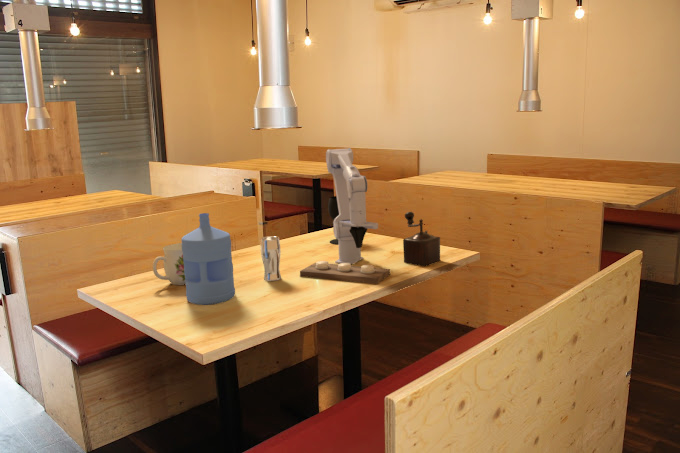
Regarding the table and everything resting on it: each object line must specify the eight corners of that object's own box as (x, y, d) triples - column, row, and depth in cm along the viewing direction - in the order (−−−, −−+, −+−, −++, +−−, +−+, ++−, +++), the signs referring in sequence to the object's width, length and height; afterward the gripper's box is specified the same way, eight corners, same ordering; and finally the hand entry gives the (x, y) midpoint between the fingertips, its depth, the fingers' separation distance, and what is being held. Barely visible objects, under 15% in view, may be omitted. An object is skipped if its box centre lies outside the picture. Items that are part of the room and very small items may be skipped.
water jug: (193, 291, 210) (186, 210, 204) (239, 289, 209) (233, 208, 204) (180, 306, 195) (172, 219, 189) (230, 305, 194) (222, 217, 188)
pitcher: (148, 285, 219) (144, 248, 216) (193, 274, 230) (190, 239, 227) (162, 292, 211) (158, 253, 208) (208, 280, 222) (205, 243, 219)
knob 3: (364, 269, 220) (363, 264, 220) (377, 270, 218) (376, 265, 217) (358, 273, 216) (358, 267, 215) (371, 274, 213) (371, 268, 213)
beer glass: (279, 282, 216) (276, 240, 213) (260, 281, 218) (257, 240, 215) (284, 276, 223) (282, 235, 220) (266, 276, 225) (263, 235, 221)
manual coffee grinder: (442, 260, 236) (441, 214, 232) (425, 266, 228) (424, 219, 224) (409, 254, 246) (408, 210, 242) (392, 260, 238) (391, 215, 234)
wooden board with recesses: (315, 267, 233) (315, 262, 232) (390, 274, 220) (389, 269, 219) (300, 276, 222) (299, 270, 222) (377, 284, 209) (377, 278, 209)
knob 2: (341, 267, 224) (341, 262, 223) (353, 268, 222) (353, 263, 221) (335, 271, 220) (335, 265, 219) (348, 272, 217) (347, 266, 217)
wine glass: (327, 244, 269) (325, 199, 264) (331, 239, 279) (330, 195, 274) (351, 244, 267) (349, 199, 263) (354, 239, 277) (353, 195, 273)
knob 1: (319, 265, 228) (319, 260, 227) (331, 266, 226) (331, 261, 225) (313, 269, 223) (312, 263, 223) (325, 270, 221) (325, 264, 221)
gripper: (334, 211, 219) (336, 248, 222) (372, 213, 213) (373, 251, 216) (343, 207, 225) (344, 243, 228) (379, 209, 219) (380, 246, 222)
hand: (359, 247), depth 223 cm, fingers closed
